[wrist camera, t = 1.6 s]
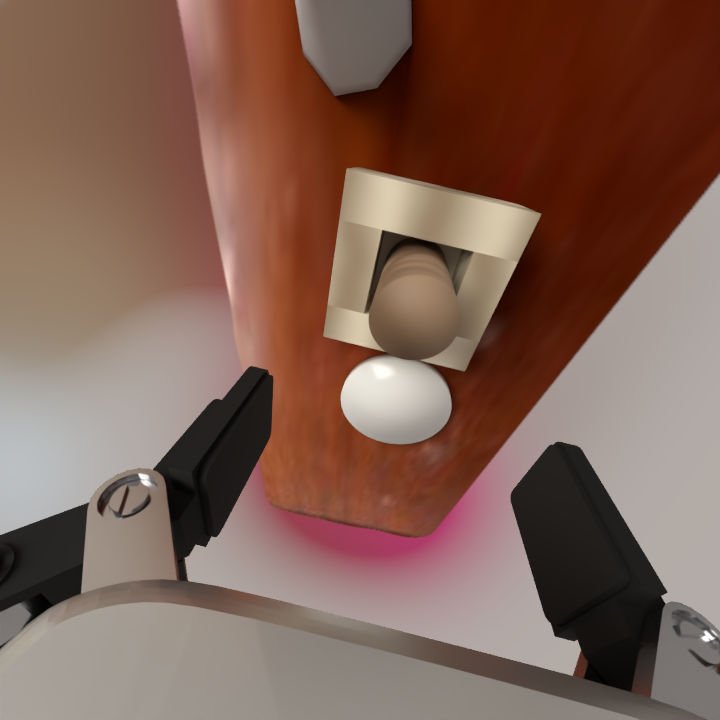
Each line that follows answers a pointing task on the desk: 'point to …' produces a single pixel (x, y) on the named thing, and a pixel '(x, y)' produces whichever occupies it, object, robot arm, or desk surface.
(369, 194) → the birch holder
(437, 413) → the white round dome
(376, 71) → the flask
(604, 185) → the desk surface
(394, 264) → the walnut peg
